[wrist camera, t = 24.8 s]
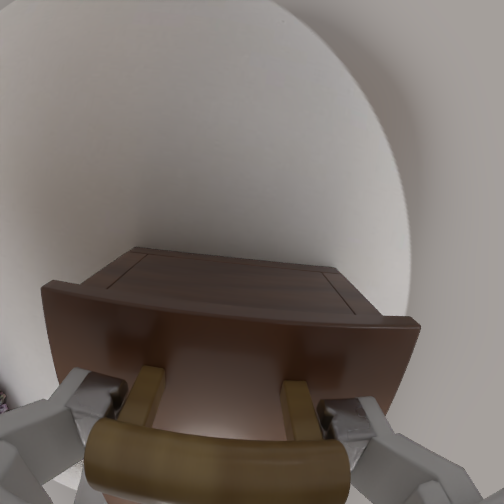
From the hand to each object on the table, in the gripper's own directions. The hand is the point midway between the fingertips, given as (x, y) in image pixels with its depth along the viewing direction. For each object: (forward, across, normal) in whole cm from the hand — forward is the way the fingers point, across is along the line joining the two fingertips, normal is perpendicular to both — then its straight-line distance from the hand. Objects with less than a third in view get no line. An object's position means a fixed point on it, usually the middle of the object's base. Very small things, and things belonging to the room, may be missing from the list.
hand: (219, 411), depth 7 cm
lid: (+2, 0, +5) cm, 5 cm away
